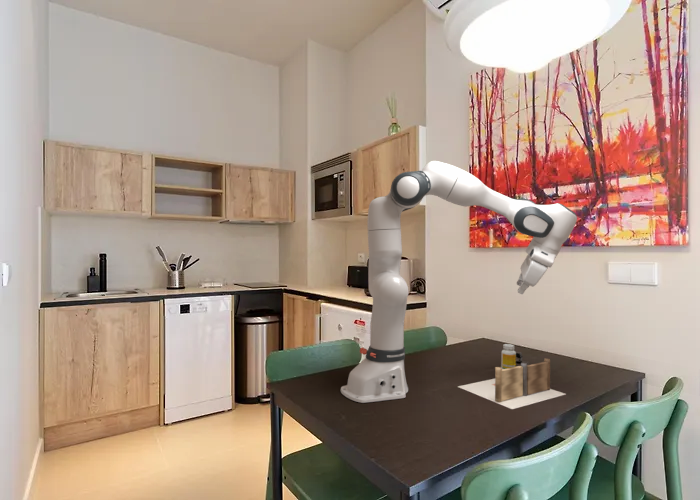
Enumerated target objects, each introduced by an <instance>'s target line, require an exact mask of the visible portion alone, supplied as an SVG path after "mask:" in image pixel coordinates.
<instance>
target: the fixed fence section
mask: <svg viewBox="0 0 700 500" xmlns="http://www.w3.org/2000/svg"><path fill="white" fill-rule="evenodd" d="M543 359H544V360H543V361H542V362H538V363H533V364H526V363H521V364H520V366H521V367H523V395H522V396H527V395H530V394H533V393H537V392H541V391H545V390H550V389H551V359H550V358H543Z"/></svg>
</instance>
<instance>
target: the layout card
mask: <svg viewBox="0 0 700 500" xmlns="http://www.w3.org/2000/svg"><path fill="white" fill-rule="evenodd" d="M457 388H460V389H462V390H465V391H467V392H470V394H471V393H472V394H473V395H477V396H479V397H480V398H484V399H486V400H488V401H491V402H493V403H496V404H498V405H501V406H503V407H506V408H508V409H510V410H515V409H519V408H522V407H526V406H529V405H532V404H537V403H539V402H543V401H546V400H547V401H548V400H552V399H554V398H559V397H563V396H566V395H567V393H564V392H561V391H558V390H555V389H552V388H550V390H545V391H541V392H537V393H533V394H530V395H527V396H518V397H515V398H511V399H507V400H503V401H501V402H497V401H495V378H492V379H490V378H489V379H486V380H482V381H477V382H472V383H468V384H464V385H459V386H457Z"/></svg>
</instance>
